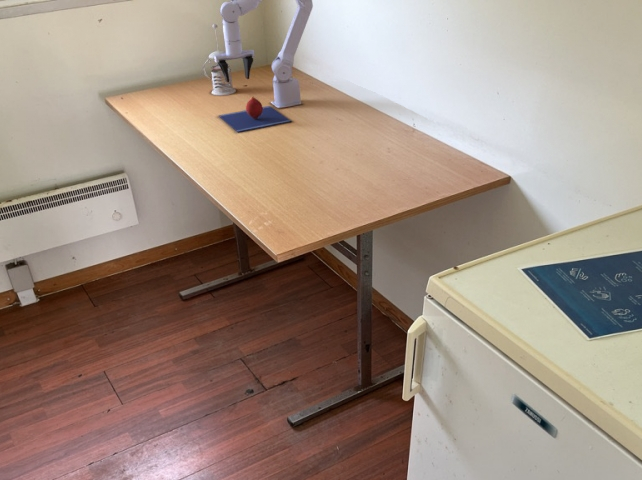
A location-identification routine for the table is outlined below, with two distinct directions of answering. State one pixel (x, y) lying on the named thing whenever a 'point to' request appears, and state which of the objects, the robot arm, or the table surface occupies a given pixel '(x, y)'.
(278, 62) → the robot arm
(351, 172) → the table surface
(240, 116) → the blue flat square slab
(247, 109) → the onion
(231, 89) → the french press
